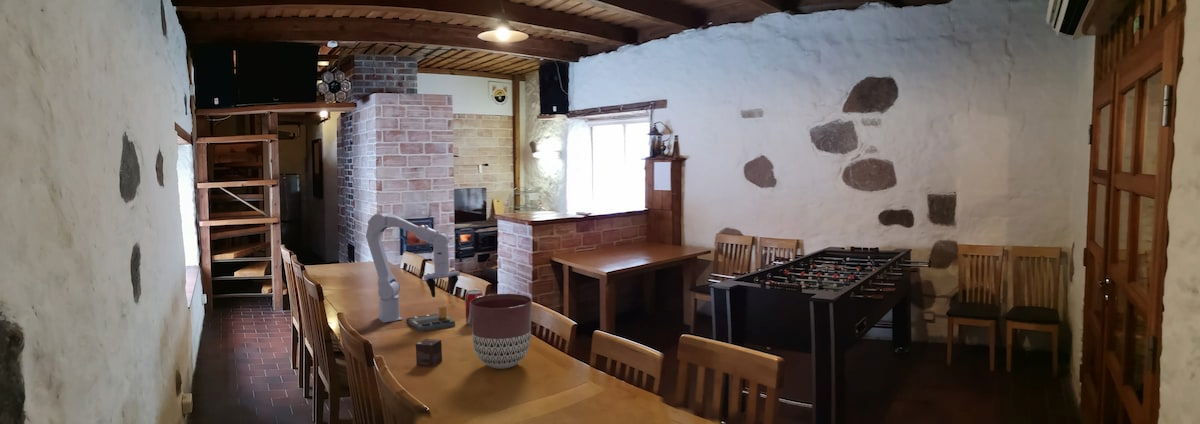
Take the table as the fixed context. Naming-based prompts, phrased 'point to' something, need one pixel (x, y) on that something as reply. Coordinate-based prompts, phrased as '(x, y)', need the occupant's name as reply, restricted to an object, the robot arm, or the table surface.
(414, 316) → the twin grey rollers
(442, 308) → the breaker lever
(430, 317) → the panel
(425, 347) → the box
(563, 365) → the table surface
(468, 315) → the soda can
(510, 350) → the planter
